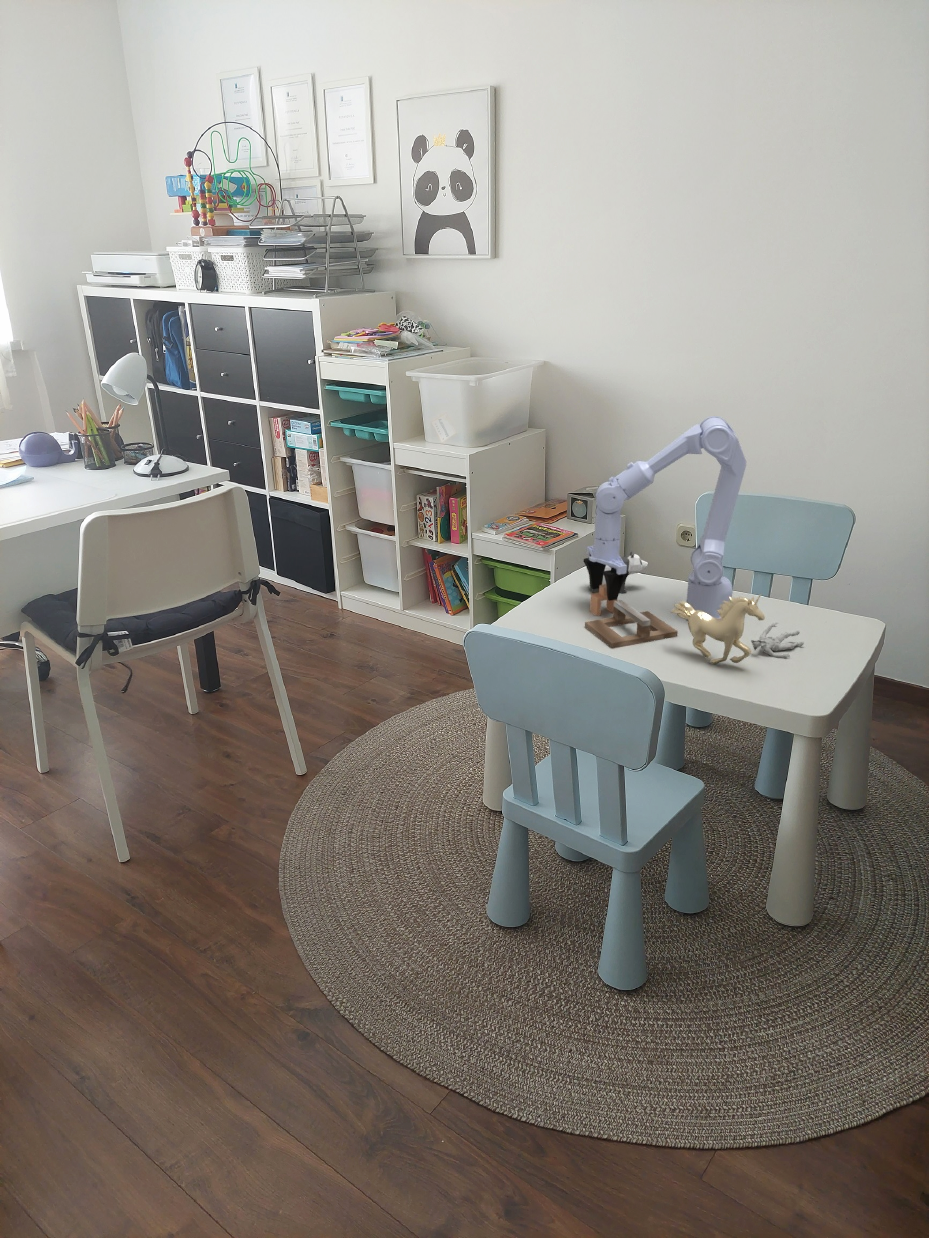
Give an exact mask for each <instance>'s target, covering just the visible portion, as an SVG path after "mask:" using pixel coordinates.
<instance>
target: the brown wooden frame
mask: <svg viewBox="0 0 929 1238" xmlns="http://www.w3.org/2000/svg"><path fill="white" fill-rule="evenodd" d="M633 623H636V634H630V635H626V636H625V635H624V636H622V635H620V634H619V633H618V632H616V631H615V630H614V629H612V628H611V627H616V626H621V625H627V624H633ZM584 628H586V630H588V631H589V632H590V633H591V634H593V635H594V634H595V635H594V636H595V637H597V638H598V639H599V640H600V641H602V642H603V641H604V642H603V643H604V644H606V645H607V646H608V647H609V646H610V647H609V648H611V649H616V648H622V647H626V646H633V645H637V644H643V643H644V644H645V643H649V642H654V640H655V641H659V640H665V638H666V639H669V638H670V639H671V638H676V637H678V634H679V633H678V632H679V631H678V630H677V629H675V628H673V627H672V626H671V625H670V624H668V623H666V622H665V621H663V620H662V619H661V618H659V617H658V616H655V615H654V614H653V613H651V612H650V611H648V610H647V611H642V612H639V611H638V610H637V609H635V608H634V607H632V606H631V605H629V604H628V603H626V602H625V601H623V600H621V599H620V600H617V601H614V607H613V613H612V616H611V617H606V618H602V619H600V618H599V619H596V620H589V621H585V622H584ZM648 641H649V642H648Z"/></svg>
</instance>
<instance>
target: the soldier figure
mask: <svg viewBox="0 0 929 1238" xmlns="http://www.w3.org/2000/svg"><path fill="white" fill-rule="evenodd" d="M777 625H779V622H773V623H772V624H770V625H768V626H767V627H766V629H764V630H763V632H762V633H761V635H760V636H759V639H756V640H753V639H751V640H750V642H751V645H752V647H753V650H754V651H757V649H759V648H761V649H762V651H763V653H766V654H767V655H768V656H770V657H773V658H785V659H787V658H790V657H791V654H790V653H783V654H782V653H777V652H778V651H779V652H781V651H785V650H791V649H792V650H793V649H794V648H795V647H802V646H804V644H805V642H804V641H799V642H794V643H792V642H787V643H782V642H784V641H785V640H786V639H788V638H790V637H795V636H798V635H800V632H801V631H800V630H795V631H794V632H787V631H785V632H783V633H781V634H779V635H778V636H776V637H773V636H767V635H768V634H769V633H770V631H771V630H772V628H776V627H778V626H777ZM773 651H774V652H773Z"/></svg>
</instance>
